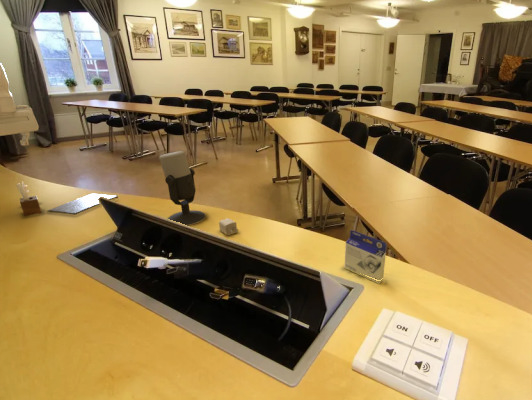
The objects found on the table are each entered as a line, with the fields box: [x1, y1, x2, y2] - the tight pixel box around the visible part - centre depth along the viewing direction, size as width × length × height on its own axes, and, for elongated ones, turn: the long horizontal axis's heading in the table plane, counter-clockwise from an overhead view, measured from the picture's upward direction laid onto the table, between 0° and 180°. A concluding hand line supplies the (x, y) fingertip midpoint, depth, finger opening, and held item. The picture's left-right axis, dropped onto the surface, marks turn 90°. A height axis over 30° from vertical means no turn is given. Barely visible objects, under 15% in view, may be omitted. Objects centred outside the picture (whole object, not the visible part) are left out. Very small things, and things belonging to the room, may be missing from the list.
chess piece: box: [21, 180, 31, 197], centre depth 126 cm, size 5×5×10 cm
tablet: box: [47, 193, 118, 216], centre depth 129 cm, size 13×20×1 cm, turn 168°
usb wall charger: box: [218, 217, 239, 236], centre depth 107 cm, size 4×7×4 cm, turn 44°
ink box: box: [343, 229, 388, 285], centre depth 85 cm, size 12×2×12 cm, turn 50°
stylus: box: [16, 182, 30, 200], centre depth 118 cm, size 1×1×12 cm
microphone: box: [158, 150, 206, 227], centre depth 114 cm, size 13×13×25 cm
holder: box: [19, 195, 42, 217], centre depth 119 cm, size 5×5×6 cm
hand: (10, 147), depth 111 cm, fingers open, 8 cm apart
